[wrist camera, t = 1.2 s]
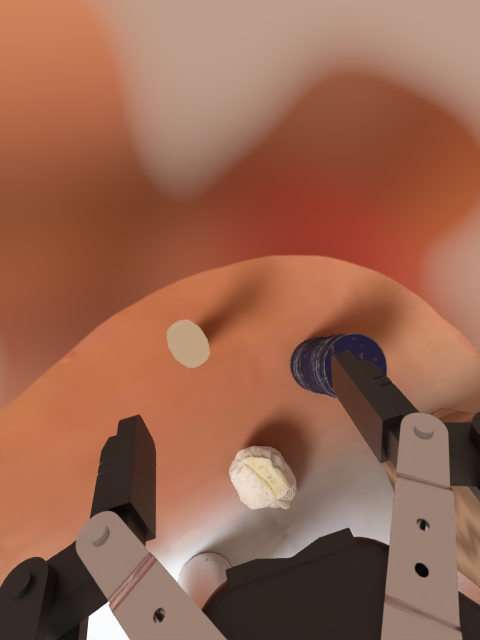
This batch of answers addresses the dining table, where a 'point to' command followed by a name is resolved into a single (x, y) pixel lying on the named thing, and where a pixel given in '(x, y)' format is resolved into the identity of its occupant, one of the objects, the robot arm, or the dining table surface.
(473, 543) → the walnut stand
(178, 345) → the handle
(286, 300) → the dining table surface
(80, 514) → the dining table surface
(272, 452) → the fossil replica
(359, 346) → the storage jar
